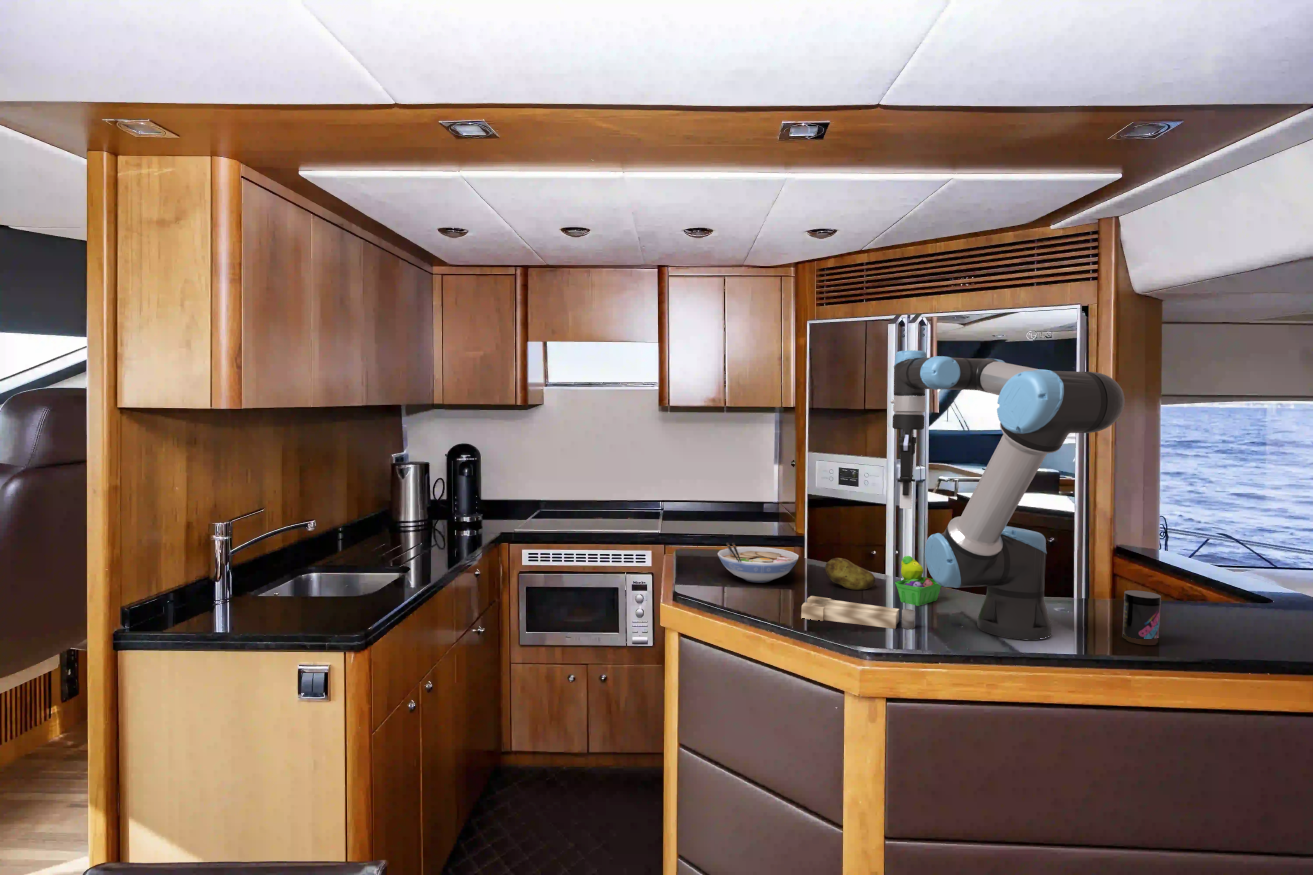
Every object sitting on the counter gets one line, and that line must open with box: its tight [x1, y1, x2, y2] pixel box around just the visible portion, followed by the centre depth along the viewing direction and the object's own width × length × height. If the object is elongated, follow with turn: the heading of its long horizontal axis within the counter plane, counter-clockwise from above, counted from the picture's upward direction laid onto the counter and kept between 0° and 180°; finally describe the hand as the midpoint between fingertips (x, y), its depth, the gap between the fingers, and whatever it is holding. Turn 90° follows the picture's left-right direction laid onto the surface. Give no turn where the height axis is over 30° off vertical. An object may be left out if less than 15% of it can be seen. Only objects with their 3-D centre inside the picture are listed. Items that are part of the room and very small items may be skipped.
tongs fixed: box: [800, 601, 916, 630], centre depth 180 cm, size 25×5×4 cm, turn 68°
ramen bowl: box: [717, 542, 800, 584], centre depth 221 cm, size 25×23×8 cm
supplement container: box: [1122, 589, 1162, 639], centre depth 169 cm, size 7×7×10 cm
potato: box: [824, 557, 876, 590], centre depth 213 cm, size 8×13×8 cm, turn 64°
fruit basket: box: [895, 555, 942, 607], centre depth 201 cm, size 11×9×11 cm
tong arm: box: [806, 595, 900, 625], centre depth 184 cm, size 21×3×3 cm, turn 62°
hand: (905, 508), depth 195 cm, fingers closed
